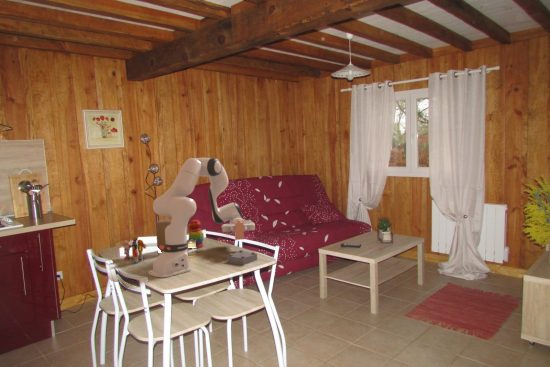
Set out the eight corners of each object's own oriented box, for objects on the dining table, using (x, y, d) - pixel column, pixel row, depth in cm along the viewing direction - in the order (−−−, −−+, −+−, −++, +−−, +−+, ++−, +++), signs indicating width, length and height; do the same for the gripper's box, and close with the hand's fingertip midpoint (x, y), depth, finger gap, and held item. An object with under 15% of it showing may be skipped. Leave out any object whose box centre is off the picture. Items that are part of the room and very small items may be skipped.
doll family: (121, 257, 235) (120, 236, 234) (137, 254, 242) (135, 233, 240) (135, 265, 219) (134, 242, 218) (152, 261, 226) (150, 239, 225)
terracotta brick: (244, 239, 233) (243, 221, 232) (235, 239, 233) (235, 221, 232) (243, 237, 238) (242, 219, 237) (235, 237, 237) (234, 220, 237)
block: (178, 249, 250) (176, 218, 248) (172, 254, 240) (171, 221, 239) (163, 249, 251) (161, 218, 249) (156, 254, 241) (155, 221, 240)
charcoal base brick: (243, 265, 214) (243, 257, 214) (227, 262, 221) (226, 254, 221) (257, 260, 224) (256, 252, 224) (241, 257, 231) (240, 249, 231)
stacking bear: (187, 245, 261) (186, 219, 259) (203, 244, 263) (202, 218, 262) (188, 249, 251) (186, 221, 249) (204, 248, 253) (203, 220, 251)
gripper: (220, 221, 246) (221, 225, 232) (253, 219, 249) (256, 223, 235) (221, 231, 246) (221, 235, 233) (253, 229, 250) (256, 234, 236)
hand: (239, 229), depth 234 cm, fingers closed on terracotta brick, 5 cm apart
